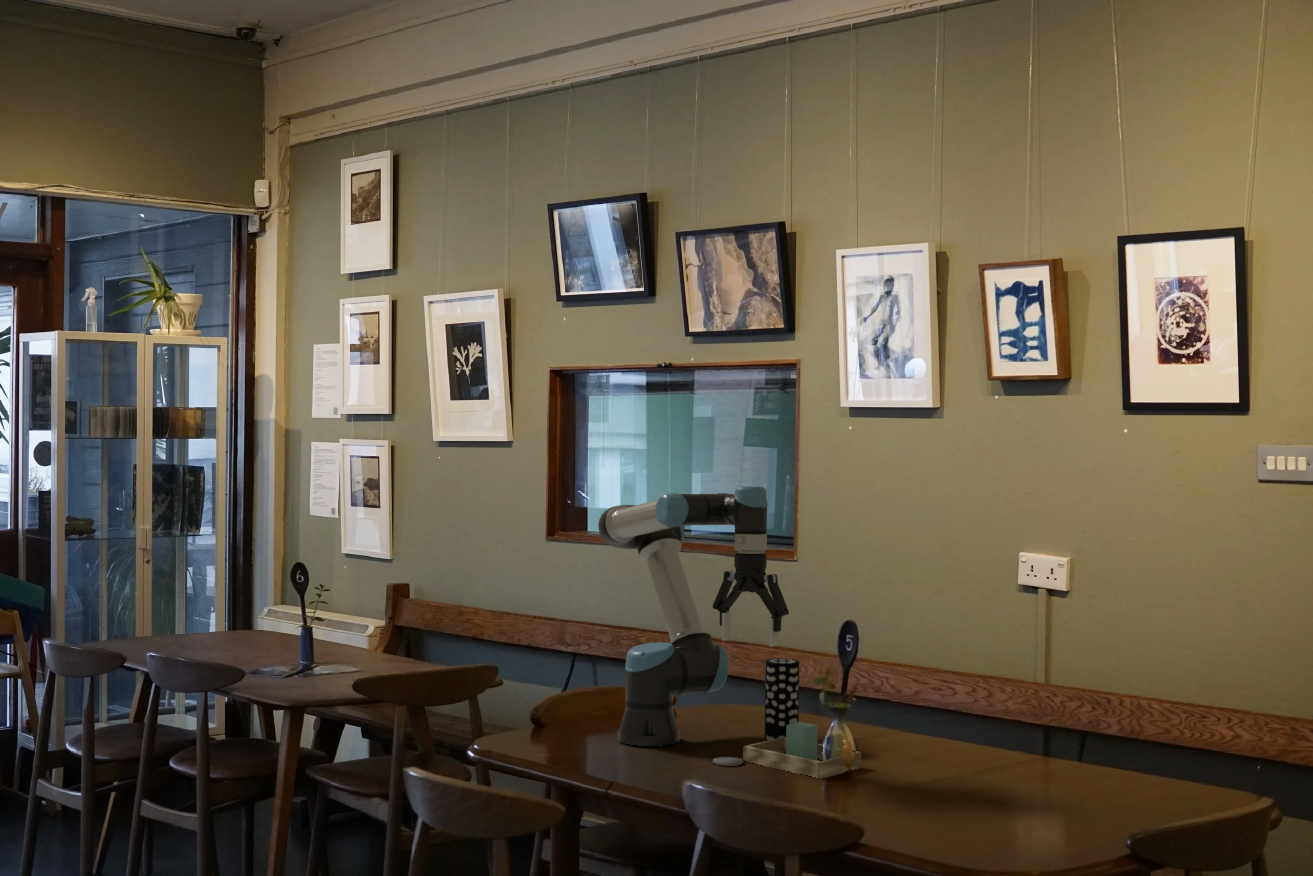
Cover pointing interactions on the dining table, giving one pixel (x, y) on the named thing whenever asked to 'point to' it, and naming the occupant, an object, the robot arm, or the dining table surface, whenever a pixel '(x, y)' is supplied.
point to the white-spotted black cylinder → (781, 696)
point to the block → (801, 740)
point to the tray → (795, 759)
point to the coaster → (727, 761)
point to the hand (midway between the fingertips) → (749, 643)
